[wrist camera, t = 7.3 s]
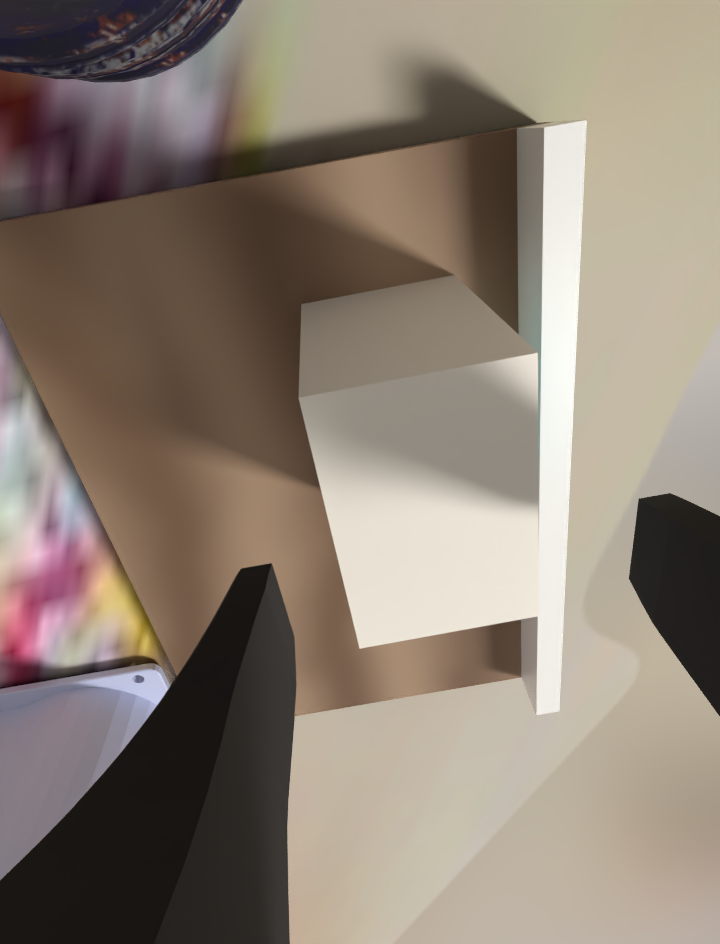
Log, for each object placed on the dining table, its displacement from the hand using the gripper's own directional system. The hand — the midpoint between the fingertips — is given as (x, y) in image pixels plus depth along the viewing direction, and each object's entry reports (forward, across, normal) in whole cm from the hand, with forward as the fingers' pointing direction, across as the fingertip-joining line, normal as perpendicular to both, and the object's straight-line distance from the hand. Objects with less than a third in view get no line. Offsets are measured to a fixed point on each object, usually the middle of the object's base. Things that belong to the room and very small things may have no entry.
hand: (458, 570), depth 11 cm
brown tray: (+10, +3, +4) cm, 11 cm away
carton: (+9, 0, 0) cm, 9 cm away
